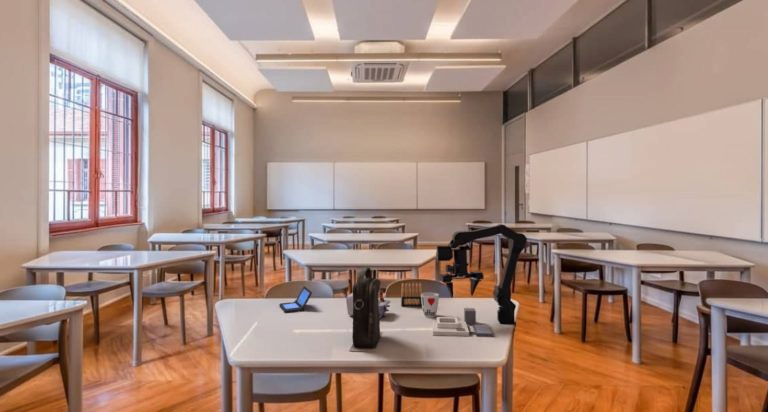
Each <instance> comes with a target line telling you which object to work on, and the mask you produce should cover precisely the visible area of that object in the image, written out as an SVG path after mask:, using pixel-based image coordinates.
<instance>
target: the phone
mask: <svg viewBox="0 0 768 412" xmlns="http://www.w3.org/2000/svg"><path fill="white" fill-rule="evenodd" d="M472 329H473V331H476V334H475V335H476V337H489V338H490V337H491V338H492V337H494V333H493V330H492V329H491V327H490V325H489V324H476V325H472Z"/></svg>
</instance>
